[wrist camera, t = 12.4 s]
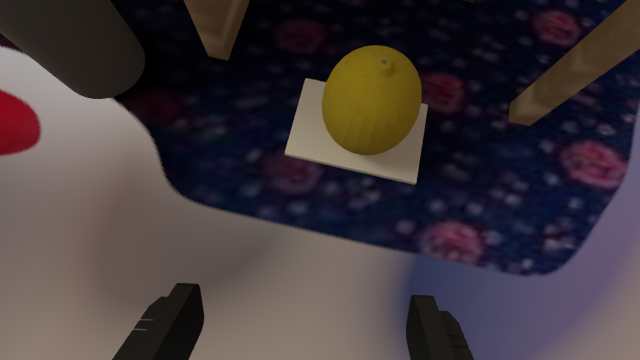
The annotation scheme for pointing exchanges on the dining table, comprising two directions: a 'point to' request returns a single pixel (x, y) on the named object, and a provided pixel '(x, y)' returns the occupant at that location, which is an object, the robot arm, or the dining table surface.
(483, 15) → the dining table surface
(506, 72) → the dining table surface
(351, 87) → the lemon
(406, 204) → the dining table surface
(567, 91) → the small wooden table
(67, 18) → the bottle
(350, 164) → the pad
